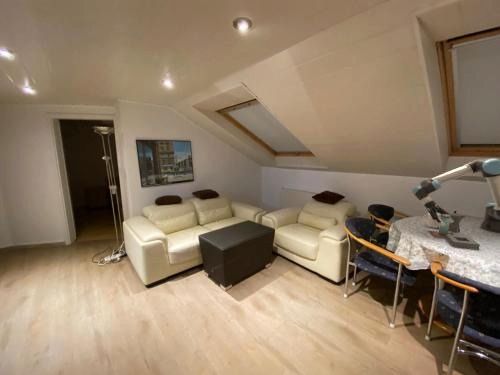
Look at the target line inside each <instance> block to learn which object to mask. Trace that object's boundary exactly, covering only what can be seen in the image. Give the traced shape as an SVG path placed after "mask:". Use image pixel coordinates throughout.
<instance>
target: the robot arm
mask: <svg viewBox="0 0 500 375" xmlns="http://www.w3.org/2000/svg"><path fill="white" fill-rule="evenodd" d="M476 173H481V176H482V178H483V179H486V181H487V185H488V187H489V191H490V194H491V197H492V199H493V202H488V203H487V204H486V206H485V211H484V218H483V220H482V222H481V223H480V225H479V228H480V229H482V230H484V231H488V232H494V233H500V159H498V158H488V157H482V158H478V159H475V160H472V161H470V162H466V163H465V164H464V165H463V166H460V167H457V168H455V169H452V170H449V171H447V172H444V173H442V174H439V175H437V176H434V177H431V178H429V179H422V180H420V183H419V185H420V186H416V187H414V188H413V189H411V193H413V195H414V196H415V197H416V199H418V200H419V202H420V203H421V204H422V205H423V206H424V207H425V208H426V210H427V211H428V213H430V215H431V217H432V219H433V220H435V219H436V221H437V222H438V223H439V226H440V225H441V226H444V225H445V224H444V223H443V222H442V220H441V217H440V218H438V216H437V213H438V214H440V215H441V214H447V215H449V214H448V213H447V212H448V211H446V210H445V209H443V208H442V207H440V206H439V205H437V202H435V201H434V200H433V199H432V198H431V196H429V194H431V193H434V192H436V191H437V190H439V189H442V184H444V183H447V182H450V181H452V180H455V179H458V178H461V177H464V176H467V175H469V174H470V175H473V174H476ZM453 222H454V221H453V220H452V219H451V218H450V223H453Z"/></svg>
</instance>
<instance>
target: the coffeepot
mask: <svg viewBox="0 0 500 375" xmlns="http://www.w3.org/2000/svg"><path fill="white" fill-rule="evenodd" d="M446 212H447V213H448V214H449V215H450V216H451V219H452V220H453V221H454V222H453V223H450V222H449V229H448V232H449V233H453V234H455V233H458V234H459V233H460V232H461V230H460V228H461V227H460V223H461V221H462V220H463V219H464V218H466V216H465V215H463V214H461V213H458V212H457V210H454V211H453V212H448V211H446Z"/></svg>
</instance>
